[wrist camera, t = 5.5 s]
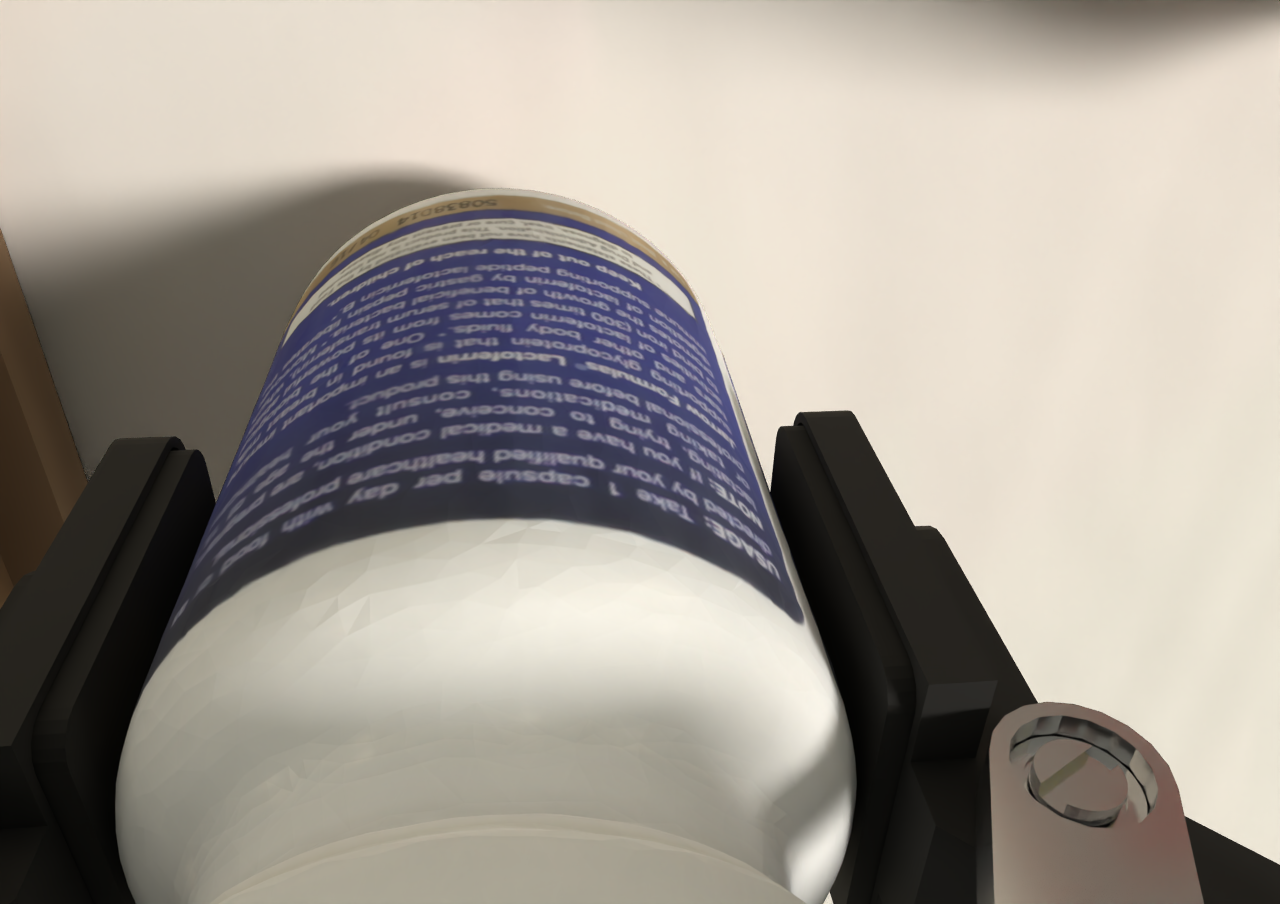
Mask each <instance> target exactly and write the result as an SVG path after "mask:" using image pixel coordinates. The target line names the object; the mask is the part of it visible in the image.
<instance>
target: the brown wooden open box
mask: <svg viewBox="0 0 1280 904" xmlns="http://www.w3.org/2000/svg"><path fill="white" fill-rule="evenodd" d="M87 484H88V482H87V479H86V476H85V473H84V470H83V467H82V464H81V461H80V458H79V456H78V453H77V450H76V447H75V444H74V441H73V438H72V435H71V432H70V429H69V426H68V424H67V421H66V418H65V415H64V412H63V409H62V406H61V403H60V400H59V397H58V395H57V392H56V389H55V386H54V383H53V380H52V377H51V374H50V371H49V368H48V365H47V363H46V360H45V357H44V354H43V351H42V348H41V345H40V342H39V339H38V336H37V333H36V331H35V328H34V325H33V322H32V319H31V316H30V313H29V310H28V307H27V304H26V302H25V299H24V296H23V293H22V290H21V287H20V284H19V281H18V278H17V275H16V272H15V270H14V267H13V264H12V261H11V258H10V255H9V252H8V249H7V246H6V243H5V240H4V238H3V235H2V232H1V229H0V609H1V607H2V606H3V604H4V602H5V601H6V599H7V597H8V596H9V594H10V593H11V591H12V589H13V588H14V586H15V585H16V584H17V583H18V581H19V580H20V579H21V578H22V577H23V575H25V574H28V573H30V572H32V571H36V569H37V567H38V566H39V564H40V562H41V561H42V559H43V557H44V555H45V554H46V552H47V550H48V549H49V547H50V545H51V544H52V542H53V540H54V539H55V537H56V535H57V534H58V532H59V530H60V529H61V527H62V525H63V524H64V522H65V520H66V519H67V517H68V515H69V514H70V512H71V510H72V509H73V507H74V505H75V504H76V502H77V500H78V499H79V497H80V495H81V494H82V492H83V490H84V489H85V487H86V485H87Z"/></svg>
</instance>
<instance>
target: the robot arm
mask: <svg viewBox="0 0 1280 904" xmlns="http://www.w3.org/2000/svg"><path fill="white" fill-rule="evenodd" d="M770 494H771V496H772V499H773V502H774V505H775V508H776V511H777V514H778V517H779V519H780V522H781V525H782V528H783V531H784V534H785V537H786V539H787V542H788V545H789V548H790V550H791V553H792V556H793V559H794V562H795V565H796V568H797V571H798V574H799V577H800V580H801V582H802V585H803V588H804V591H805V594H806V597H807V599H808V602H809V604H810V607H811V609H812V612H813V614H814V617H815V620H816V623H817V626H818V629H819V632H820V634H821V637H822V639H823V642H824V645H825V647H826V650H827V652H828V655H829V657H830V660H831V662H832V665H833V668H834V671H835V674H836V678H837V681H838V685H839V688H840V691H841V695H842V698H843V702H844V705H845V710H846V714H847V718H848V723H849V727H850V731H851V735H852V740H853V747H854V753H855V761H856V780H857V788H856V803H855V810H854V816H853V823H852V830H851V835H850V838H849V842H848V845H847V849H846V852H845V856H844V859H843V863H842V865H841V868H840V870H839V872H838V874H837V877H836V879H835V881H834V883H833V885H832V887H831V889H830V894H831V897H832V900H833V903H834V904H1280V865H1279V864H1277V863H1275V862H1273V861H1271V860H1269V859H1267V858H1265V857H1263V856H1261V855H1260V854H1258V853H1256V852H1254V851H1252V850H1250V849H1248V848H1246V847H1244V846H1242V845H1240V844H1238V843H1236V842H1234V841H1232V840H1230V839H1228V838H1226V837H1224V836H1222V835H1221V834H1219V833H1217V832H1215V831H1213V830H1211V829H1209V828H1207V827H1205V826H1203V825H1201V824H1199V823H1197V822H1195V821H1193V820H1191V819H1189V818H1187V817H1185V816H1184V812H1183V807H1182V803H1181V798H1180V794H1179V789H1178V786H1177V784H1176V782H1175V779H1174V777H1173V775H1172V772H1171V770H1170V767H1169V765H1168V764H1167V763H1166V762H1165V760H1164V759H1163V758H1162V757H1161V755H1160V754H1159V753H1158V752H1157V750H1156V749H1155V748H1154V747H1153V746H1152V744H1151V743H1149V742H1148V741H1147V740H1145V739H1144V738H1143V737H1142V736H1140V735H1139V734H1138V733H1137V732H1135V731H1134V730H1133V729H1131V728H1130V727H1129V726H1127V725H1125V724H1123V723H1122V722H1120V721H1118V720H1116V719H1114V718H1112V717H1110V716H1108V715H1106V714H1104V713H1102V712H1099V711H1096V710H1092V709H1089V708H1085V707H1082V706H1079V705H1075V704H1067V703H1055V702H1043V703H1038V702H1037V700H1036V699H1035V697H1034V695H1033V693H1032V692H1031V690H1030V688H1029V686H1028V685H1027V683H1026V681H1025V679H1024V678H1023V676H1022V674H1021V672H1020V671H1019V669H1018V667H1017V665H1016V664H1015V662H1014V660H1013V658H1012V657H1011V655H1010V653H1009V651H1008V650H1007V648H1006V646H1005V644H1004V643H1003V641H1002V639H1001V637H1000V636H999V634H998V632H997V630H996V629H995V627H994V625H993V623H992V622H991V620H990V618H989V616H988V615H987V613H986V611H985V609H984V608H983V606H982V604H981V602H980V601H979V599H978V597H977V595H976V593H975V592H974V590H973V588H972V586H971V585H970V583H969V581H968V579H967V578H966V576H965V574H964V572H963V571H962V569H961V567H960V565H959V564H958V562H957V560H956V558H955V557H954V555H953V553H952V551H951V550H950V548H949V546H948V544H947V543H946V541H945V539H944V538H943V536H942V535H941V534H940V532H939V531H938V530H937V529H936V528H933V527H931V526H914V524H913V522H912V520H911V519H910V517H909V515H908V513H907V511H906V509H905V507H904V506H903V504H902V502H901V500H900V498H899V496H898V494H897V493H896V491H895V489H894V487H893V485H892V483H891V482H890V480H889V478H888V476H887V474H886V472H885V470H884V469H883V467H882V465H881V463H880V461H879V459H878V457H877V456H876V454H875V452H874V450H873V448H872V446H871V444H870V443H869V441H868V439H867V437H866V435H865V433H864V432H863V430H862V428H861V426H860V424H859V422H858V420H857V419H856V417H855V415H854V414H853V413H852V411H822V412H799V413H798V414H797V415H796V418H795V421H794V425H793V426H781V427H780V428H779V429H778V432H777V437H776V444H775V454H774V463H773V472H772V482H771V491H770ZM215 505H216V502H215V498H214V494H213V490H212V486H211V482H210V478H209V474H208V470H207V466H206V462H205V459H204V457H203V455H202V453H201V452H200V451H199V450H185V447H184V445H183V443H182V442H181V440H180V439H179V438H177V437H176V436H174V437H148V438H122V439H116V440H115V441H114V442H113V443H112V444H111V445H110V447H109V448H108V450H107V452H106V453H105V455H104V457H103V458H102V460H101V462H100V463H99V465H98V467H97V468H96V470H95V472H94V473H93V475H92V477H91V479H90V480H89V482H88V484H87V485H86V487H85V489H84V490H83V492H82V494H81V495H80V497H79V499H78V500H77V502H76V504H75V505H74V507H73V509H72V510H71V512H70V514H69V515H68V517H67V519H66V520H65V522H64V524H63V525H62V527H61V529H60V530H59V532H58V534H57V535H56V537H55V539H54V540H53V542H52V544H51V545H50V547H49V549H48V550H47V552H46V554H45V555H44V557H43V559H42V561H41V562H40V564H39V566H38V567H37V569H36V571H32V572H30V573H28V574H25V575H23V577H22V578H21V579H20V580H19V581H18V583H17V584H16V585H15V586H14V588H13V589H12V591H11V593H10V594H9V596H8V597H7V599H6V601H5V602H4V604H3V606H2V607H1V609H0V904H136V903H135V900H134V898H133V896H132V894H131V891H130V889H129V887H128V884H127V881H126V878H125V874H124V871H123V868H122V864H121V861H120V856H119V850H118V843H117V836H116V819H115V797H116V779H117V774H118V769H119V763H120V758H121V754H122V750H123V746H124V742H125V738H126V735H127V731H128V728H129V725H130V721H131V718H132V714H133V711H134V708H135V706H136V703H137V700H138V698H139V695H140V692H141V689H142V687H143V684H144V682H145V679H146V677H147V674H148V672H149V669H150V667H151V664H152V662H153V659H154V657H155V654H156V652H157V649H158V647H159V644H160V641H161V638H162V636H163V633H164V631H165V629H166V626H167V624H168V621H169V619H170V617H171V614H172V612H173V609H174V607H175V605H176V602H177V600H178V597H179V595H180V593H181V590H182V588H183V586H184V583H185V581H186V578H187V575H188V573H189V570H190V568H191V565H192V563H193V560H194V558H195V555H196V553H197V550H198V547H199V545H200V542H201V540H202V537H203V535H204V532H205V530H206V527H207V525H208V522H209V520H210V517H211V515H212V512H213V510H214V507H215Z"/></svg>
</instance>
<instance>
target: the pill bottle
mask: <svg viewBox="0 0 1280 904" xmlns="http://www.w3.org/2000/svg"><path fill="white" fill-rule="evenodd" d="M856 788H857V780H856V761H855V753H854V747H853V740H852V735H851V731H850V727H849V723H848V718H847V714H846V710H845V705H844V702H843V698H842V695H841V691H840V688H839V685H838V681H837V678H836V674H835V671H834V668H833V665H832V662H831V660H830V657H829V655H828V652H827V650H826V647H825V645H824V642H823V639H822V637H821V634H820V632H819V629H818V626H817V623H816V620H815V617H814V614H813V612H812V609H811V607H810V604H809V602H808V599H807V597H806V594H805V591H804V588H803V585H802V582H801V580H800V577H799V574H798V571H797V568H796V565H795V562H794V559H793V556H792V553H791V550H790V548H789V545H788V542H787V539H786V537H785V534H784V531H783V528H782V525H781V522H780V519H779V517H778V514H777V511H776V508H775V505H774V502H773V499H772V496H771V494H770V491H769V488H768V485H767V482H766V479H765V476H764V473H763V470H762V468H761V465H760V462H759V459H758V456H757V453H756V450H755V447H754V444H753V441H752V438H751V436H750V433H749V430H748V427H747V424H746V421H745V418H744V415H743V412H742V409H741V406H740V403H739V400H738V397H737V394H736V391H735V388H734V385H733V382H732V379H731V377H730V374H729V371H728V368H727V365H726V362H725V359H724V355H723V353H722V351H721V348H720V346H719V344H718V342H717V339H716V337H715V334H714V331H713V329H712V327H711V324H710V322H709V319H708V317H707V314H706V312H705V309H704V308H703V306H702V304H701V302H700V300H699V299H698V297H697V295H696V293H695V292H694V290H693V288H692V287H691V285H690V284H689V283H688V281H687V280H686V278H685V277H684V276H683V274H682V273H681V272H680V271H679V270H678V268H677V267H676V266H675V265H674V264H673V263H672V262H671V260H670V259H669V258H668V257H667V256H666V255H665V254H664V253H663V252H662V251H661V250H660V249H658V248H657V247H656V246H655V245H654V244H653V243H652V242H651V241H649V240H648V239H647V238H646V237H644V236H643V235H642V234H640V233H639V232H637V231H636V230H634V229H633V228H631V227H630V226H628V225H627V224H625V223H624V222H622V221H620V220H618V219H617V218H615V217H613V216H611V215H609V214H607V213H605V212H603V211H601V210H599V209H596V208H594V207H591V206H589V205H586V204H584V203H581V202H579V201H576V200H573V199H569V198H565V197H561V196H558V195H554V194H549V193H544V192H538V191H533V190H520V189H476V190H468V191H461V192H455V193H449V194H444V195H440V196H437V197H433V198H429V199H426V200H422V201H419V202H417V203H414V204H412V205H409V206H406V207H404V208H402V209H399V210H397V211H395V212H393V213H391V214H389V215H387V216H386V217H384V218H382V219H380V220H378V221H376V222H374V223H372V224H371V225H369V226H368V227H366V228H365V229H364V230H362V231H361V232H359V233H358V234H357V235H355V236H354V237H353V238H351V239H350V240H349V241H347V242H346V243H345V244H344V245H343V246H342V247H341V248H340V249H339V250H338V251H336V252H335V254H334V255H333V256H332V257H331V258H330V259H329V260H328V261H327V262H326V263H325V264H324V265H323V266H322V268H321V269H320V271H319V272H318V273H317V275H316V276H315V277H314V279H313V280H312V281H311V283H310V284H309V286H308V288H307V289H306V291H305V292H304V294H303V296H302V298H301V300H300V301H299V303H298V305H297V307H296V309H295V311H294V313H293V315H292V317H291V319H290V321H289V323H288V325H287V327H286V329H285V332H284V334H283V337H282V339H281V342H280V345H279V347H278V350H277V352H276V355H275V358H274V360H273V363H272V365H271V368H270V371H269V373H268V376H267V378H266V381H265V383H264V386H263V388H262V391H261V393H260V396H259V398H258V400H257V403H256V405H255V408H254V410H253V413H252V415H251V418H250V420H249V423H248V425H247V428H246V430H245V433H244V435H243V438H242V440H241V443H240V445H239V448H238V450H237V453H236V455H235V458H234V460H233V463H232V465H231V468H230V470H229V473H228V475H227V477H226V480H225V482H224V485H223V487H222V490H221V492H220V495H219V497H218V500H217V502H216V505H215V507H214V510H213V512H212V515H211V517H210V520H209V522H208V525H207V527H206V530H205V532H204V535H203V537H202V540H201V542H200V545H199V547H198V550H197V553H196V555H195V558H194V560H193V563H192V565H191V568H190V570H189V573H188V575H187V578H186V581H185V583H184V586H183V588H182V590H181V593H180V595H179V597H178V600H177V602H176V605H175V607H174V609H173V612H172V614H171V617H170V619H169V621H168V624H167V626H166V629H165V631H164V633H163V636H162V638H161V641H160V644H159V647H158V649H157V652H156V654H155V657H154V659H153V662H152V664H151V667H150V669H149V672H148V674H147V677H146V679H145V682H144V684H143V687H142V689H141V692H140V695H139V698H138V700H137V703H136V706H135V708H134V711H133V714H132V718H131V721H130V725H129V728H128V731H127V735H126V738H125V742H124V746H123V750H122V754H121V758H120V763H119V769H118V774H117V779H116V797H115V819H116V836H117V843H118V850H119V856H120V861H121V864H122V868H123V871H124V874H125V878H126V881H127V884H128V887H129V889H130V891H131V894H132V896H133V898H134V900H135V903H136V904H823V903H824V901H825V899H826V897H827V895H828V893H829V891H830V889H831V887H832V885H833V883H834V881H835V879H836V877H837V874H838V872H839V870H840V868H841V865H842V863H843V859H844V856H845V852H846V849H847V845H848V842H849V838H850V835H851V830H852V823H853V816H854V810H855V803H856Z"/></svg>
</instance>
